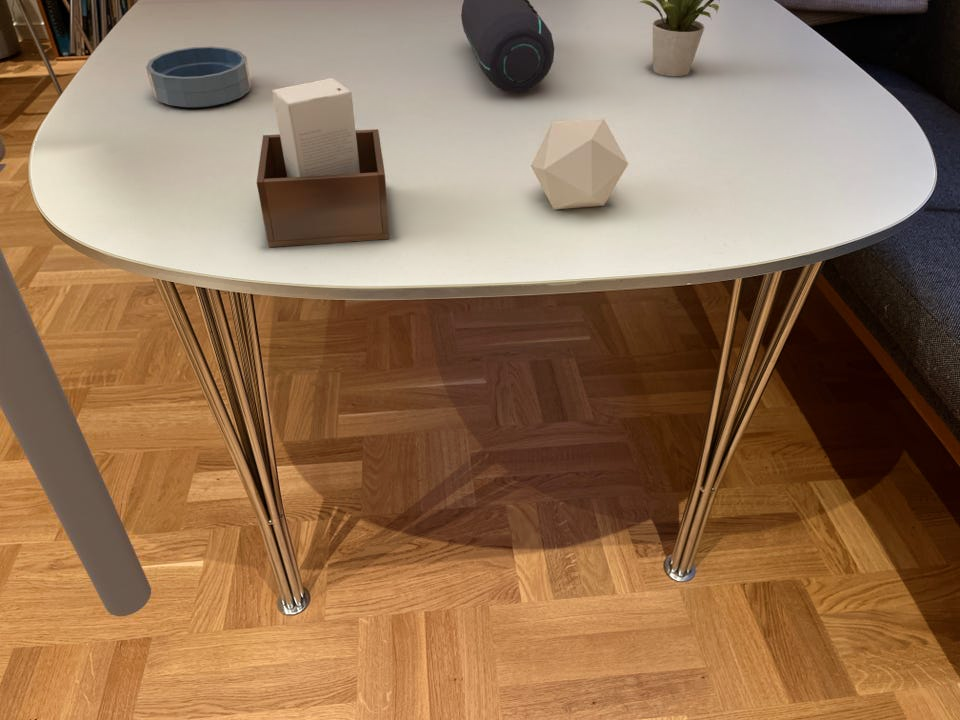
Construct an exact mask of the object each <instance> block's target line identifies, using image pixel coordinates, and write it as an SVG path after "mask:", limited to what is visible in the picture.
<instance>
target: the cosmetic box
mask: <svg viewBox="0 0 960 720" xmlns="http://www.w3.org/2000/svg"><path fill="white" fill-rule="evenodd" d="M271 93H272V99H273V104H274V109H275V116H276V122H277V128H278V133H279V134H280V138H281V144H282V150H283V156H284V161H285V167H286V173H287V178H289V177H306V176H323V175H340V174H357V173H360V168H359V159H358V149H357V140H356V131H355V130H356V122H355V113H354V106H353V105H354V103H353V102H354V101H353V93H352V90H350V89H349V88H347V87H345V85H343V84H342V83H340V82H339V81H338V80H336V79H335V78H333V77H329V78H325V79H321V80H316V81H311V82H305V83H301V84H300V83H299V84H294V85H290V86H286V87H280V88H275V89H272V91H271Z"/></svg>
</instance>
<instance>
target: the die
mask: <svg viewBox="0 0 960 720" xmlns="http://www.w3.org/2000/svg"><path fill="white" fill-rule="evenodd" d="M628 165H629V161H628V160H627V158H626V156H625V155H624V153H623V151H622V149H621V147H620V146H619V144H618V141H617V140H616V138H615V136H614V135H613V132H612V131H611V129H610V127H609V125H608V124H607V121H606V120H605V118H589V119H570V120H558V121H557V120H554V121H551V123H550V124H549V127H548V129H547V131H546V133H545V135H544V137H543V139H542V141H541V144H540V145H539V147H538V149H537V152H536V153H535V156H534V157H533V160H532V161H531V164H530V167H531V169H532V171H533V173H534V175H535V177H536V179H537V180H538V182H539V184H540V187H541V189H542V190H543V192H544V194H545V196H546V198H547V200H548V202H549V203H550V205H551V207H552V209H553V210H555V211H557V210H568V209H580V208H581V209H582V208H593V207H594V208H595V207H604V206H605V204H606V203H607V201H608V200H609V198H610V196H611V194H612V192H613V190H614V189H615V188H616V186H617V184H618V182H619V181H620V179H621V177H622V176H623V174H624V173H625V171H626V168H627V167H628Z"/></svg>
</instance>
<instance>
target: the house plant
mask: <svg viewBox="0 0 960 720" xmlns="http://www.w3.org/2000/svg"><path fill="white" fill-rule="evenodd" d="M655 1H656V2H657V3H658V4H659V5H660V7H661V9H662V10H663V12H664V13H665V16H666V17H663V13H662V11H661V9H660V8H659V7H658V6H657V5H656V4H655V3H654V2H652V1H651V0H640V1H638V2H637V4H639V3H641V4H645V5H647V6H649V7H651V8H653V9H654V10H655V11H656V12H657V13H658V14H659V16H660V18H658V19H655V20H654V21H653V22H652V71H653V72H654V73H656V74H657V75H661V76H667V77H683V76H687V75H688V74H689V73H690V71H691V69H692V65H693V62H694V60H695V57H696V53H697V51H698V47H699V44H700V42H701V39H702V37H703V33H704V30H705V25H704V23H702V22H700V21H698V20H697V19H698V18H699V16H706V17H708V18H710V20H713V19H712V16H711V13H710V12H708V11H705V10H706V9H707V8H708V7H710V8H713V9H714V11H715V12H716V13H718V10H719V8H720V6H719V5H718V3H717V4H716V3H713V2H714V1H715V0H707V1H706V3H704V5H702V6H701V4H702V3H703V1H704V0H655ZM718 2H719V3H720V1H718Z"/></svg>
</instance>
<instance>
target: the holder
mask: <svg viewBox="0 0 960 720" xmlns="http://www.w3.org/2000/svg"><path fill="white" fill-rule="evenodd" d="M355 131H356V140H357V149H358V159H359V168H360V173H357V174H340V175H323V176H306V177H289V178H287V173H286V167H285V161H284V156H283V150H282V144H281V138H280V133H279V134H277V133H276V134H263V135H262V139H261V147H260V155H259V160H258V161H259V162H258V168H257V177H256V187H257V193H258V199H259V204H260V208H261V213H262V214H261V215H262V219H263V224H264V230H265V235H266V240H267V246H268V248H277V247H278V248H279V247H280V248H281V247H292V246H306V245H307V246H308V245H320V244H335V243H337V244H338V243H348V242H350V243H351V242H362V241H363V242H364V241H378V240H389V239H390V226H389V213H388V196H387V185H386V183H387V182H386V171H385V165H384V158H383V153H382V146H381V144H382V143H381V139H380V137H381V136H380V130H379V129H377V128H376V129H375V128H374V129H357V130H356V129H355Z"/></svg>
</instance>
